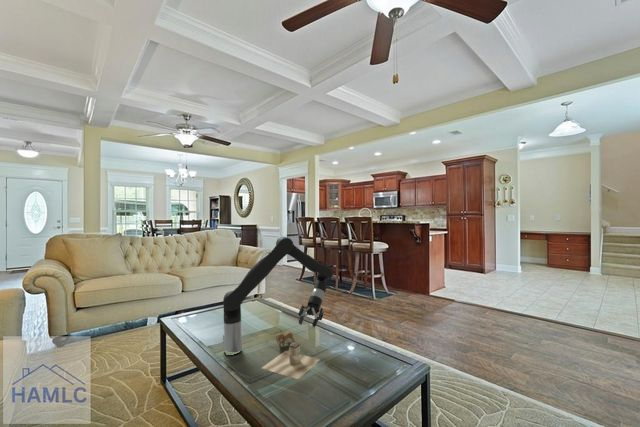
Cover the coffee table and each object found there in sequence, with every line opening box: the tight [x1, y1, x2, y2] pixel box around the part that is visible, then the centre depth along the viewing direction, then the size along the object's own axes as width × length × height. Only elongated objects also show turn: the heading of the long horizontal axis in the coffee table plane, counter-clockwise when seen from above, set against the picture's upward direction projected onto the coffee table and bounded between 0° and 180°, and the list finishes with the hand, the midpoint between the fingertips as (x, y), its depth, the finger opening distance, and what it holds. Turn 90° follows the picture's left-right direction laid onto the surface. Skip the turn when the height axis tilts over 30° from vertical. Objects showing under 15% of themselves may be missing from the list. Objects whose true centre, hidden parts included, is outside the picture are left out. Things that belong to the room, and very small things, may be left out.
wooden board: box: [261, 350, 321, 380], centre depth 144 cm, size 22×20×1 cm
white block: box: [288, 341, 301, 365], centre depth 146 cm, size 4×4×9 cm
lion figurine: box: [275, 331, 295, 349], centre depth 166 cm, size 15×5×9 cm, turn 150°
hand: (306, 325), depth 156 cm, fingers open, 8 cm apart
